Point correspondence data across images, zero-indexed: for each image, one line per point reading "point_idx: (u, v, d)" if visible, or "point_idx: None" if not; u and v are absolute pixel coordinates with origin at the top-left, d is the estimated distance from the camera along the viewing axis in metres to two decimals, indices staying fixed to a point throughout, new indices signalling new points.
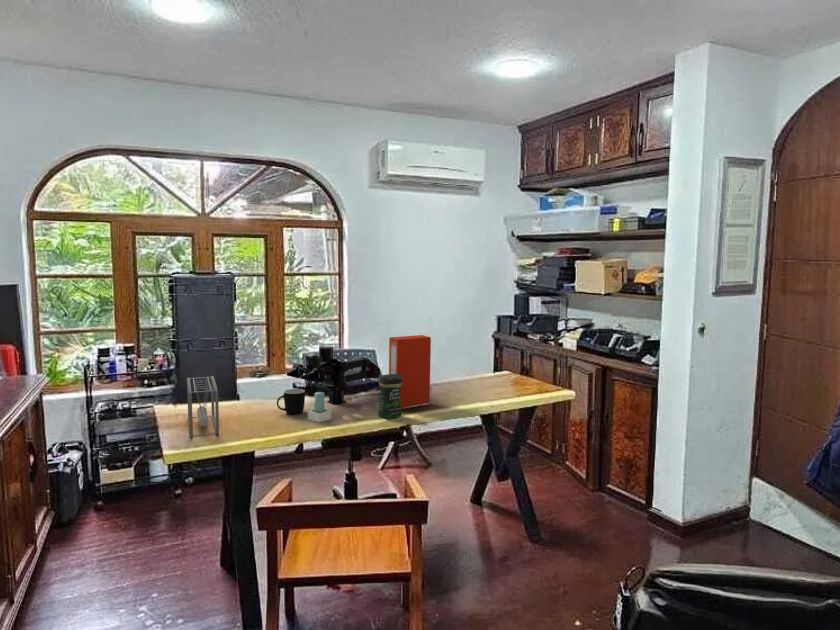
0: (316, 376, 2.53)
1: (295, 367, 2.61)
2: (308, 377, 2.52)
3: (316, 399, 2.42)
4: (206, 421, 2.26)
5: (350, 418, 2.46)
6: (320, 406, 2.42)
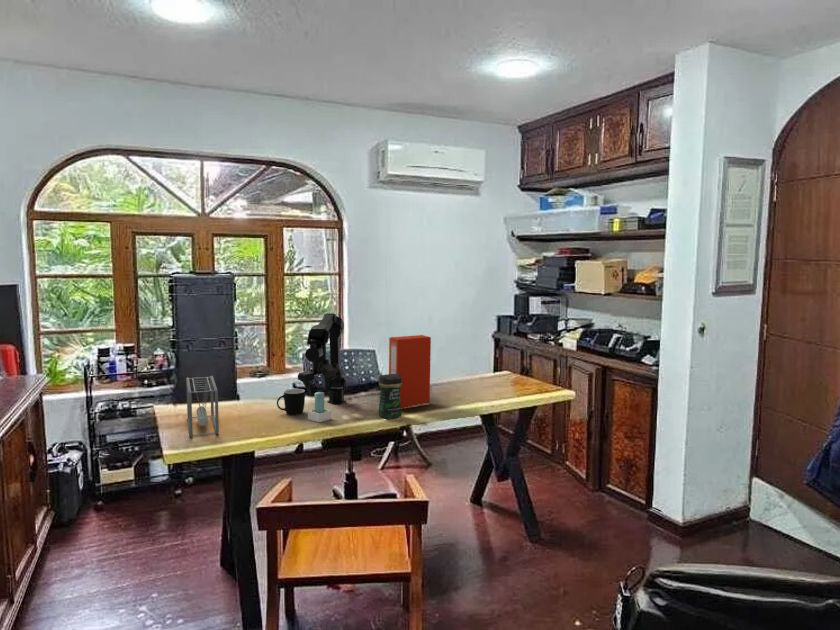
0: None
1: (311, 383, 2.37)
2: None
3: (316, 399, 2.42)
4: (206, 421, 2.26)
5: (350, 418, 2.46)
6: (320, 406, 2.42)
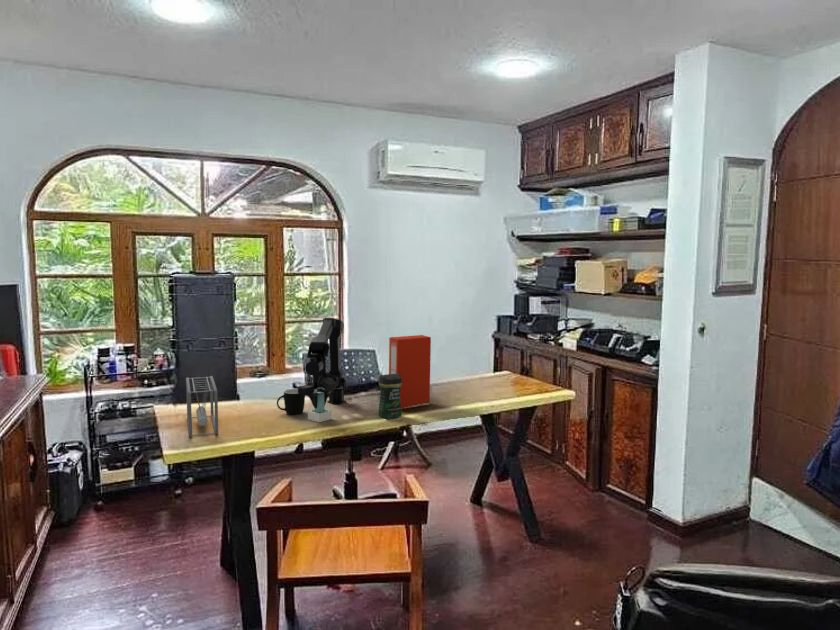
0: None
1: (316, 395, 2.40)
2: None
3: None
4: (205, 421, 2.26)
5: (350, 418, 2.46)
6: (320, 406, 2.42)
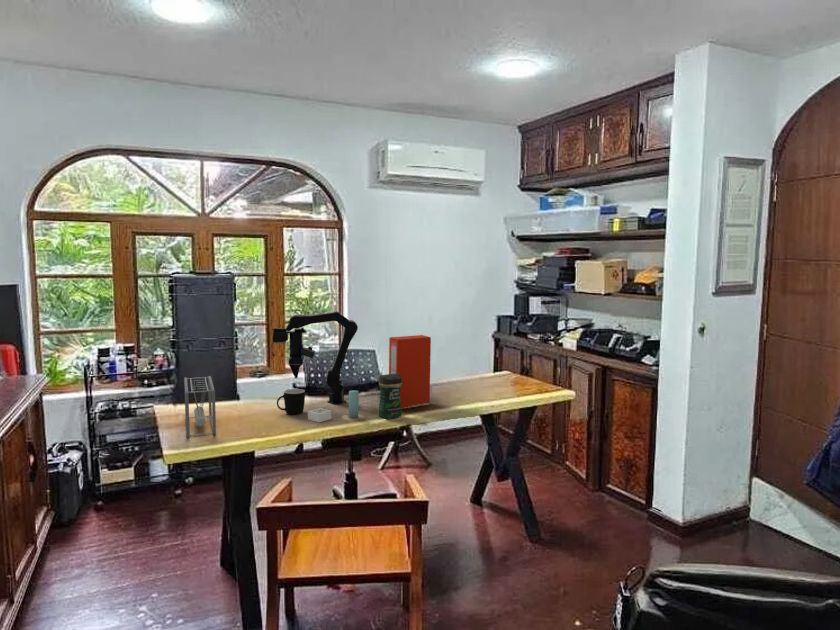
0: None
1: None
2: None
3: (357, 397, 2.46)
4: (203, 421, 2.26)
5: (350, 418, 2.46)
6: None
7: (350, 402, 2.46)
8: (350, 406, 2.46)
